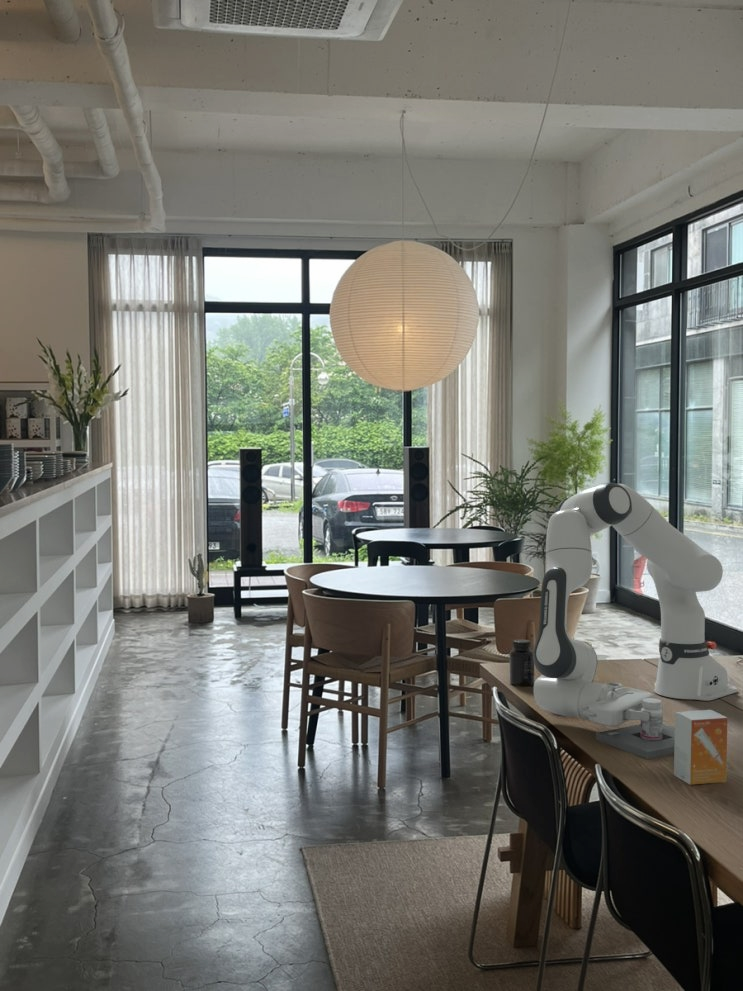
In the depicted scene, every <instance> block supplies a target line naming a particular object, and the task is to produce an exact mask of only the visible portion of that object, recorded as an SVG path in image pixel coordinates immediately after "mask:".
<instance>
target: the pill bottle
mask: <svg viewBox="0 0 743 991" xmlns="http://www.w3.org/2000/svg"><path fill="white" fill-rule="evenodd" d="M642 705H643V708H642V709H641V711H647V712H650V713H651V719H650V720H648V721H643V720H640V724H641V727H640V736H641V737H642V738H643V739H645V740H648V741H653V742H654V741H659V740H661V739H662V737H663V724H664V721H663V720H664V712H663V711H664V710H663V711H662V709H660V708H661V706H662V701H661V700H660V699H658V698H655V697H654V698H646V699H643V702H642Z"/></svg>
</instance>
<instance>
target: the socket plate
mask: <svg viewBox="0 0 743 991" xmlns="http://www.w3.org/2000/svg"><path fill="white" fill-rule="evenodd" d="M640 727H641V723H638V724H635V725H630V726H624V727H619V728H614V729H609V730H603V731H598V732H596V733H595V735H596V736H595V740H596V741H599V742H601V743H604V744H607V745H609V746H612V747H613V748H617V749H620V750H622V751H625V752H627V753H630V754H633V755H636V756H638V757H641V758H643V759H645V760H651V759H655V758H656V759H657V758H662V757H666V756H671V755H674V747H675V727H673V726H670V725H666V724H664V723H663V737H662V739H661V740H656V741H654V740H653V741H652V740H646V739H643V738H642V737H641V736H640Z"/></svg>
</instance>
